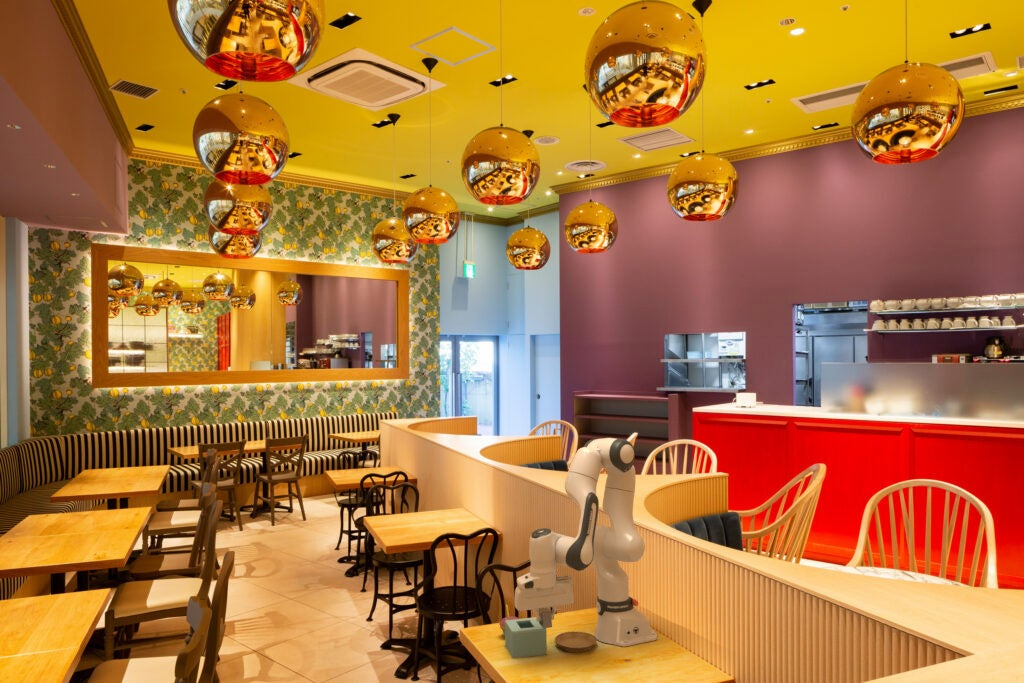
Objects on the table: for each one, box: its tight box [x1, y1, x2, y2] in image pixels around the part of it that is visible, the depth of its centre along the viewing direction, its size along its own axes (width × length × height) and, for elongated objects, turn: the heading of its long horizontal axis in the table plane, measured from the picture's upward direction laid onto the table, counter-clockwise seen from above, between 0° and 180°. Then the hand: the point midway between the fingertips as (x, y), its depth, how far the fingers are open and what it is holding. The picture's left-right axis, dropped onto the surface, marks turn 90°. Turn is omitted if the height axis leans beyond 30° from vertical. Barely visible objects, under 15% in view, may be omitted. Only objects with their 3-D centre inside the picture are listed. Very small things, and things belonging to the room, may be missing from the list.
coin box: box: [504, 616, 548, 659], centre depth 233 cm, size 12×11×9 cm
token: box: [538, 607, 553, 629], centre depth 226 cm, size 3×5×5 cm, turn 14°
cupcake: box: [498, 602, 520, 638], centre depth 245 cm, size 9×8×12 cm
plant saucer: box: [554, 630, 598, 653], centre depth 236 cm, size 15×15×3 cm
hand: (545, 620), depth 226 cm, fingers closed on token, 3 cm apart
